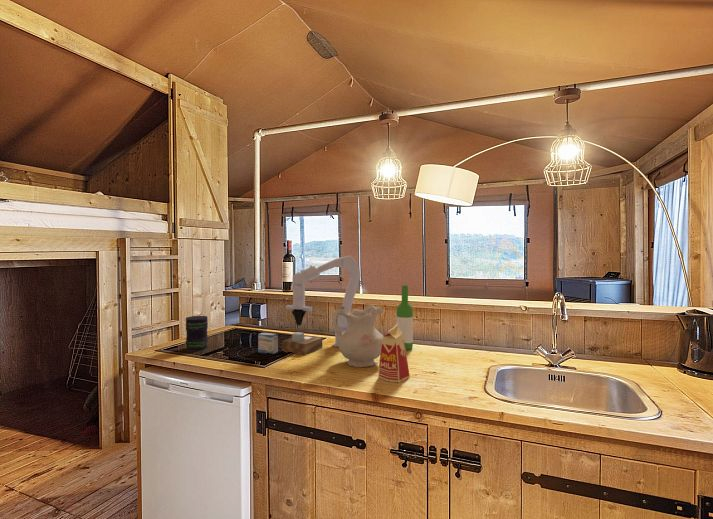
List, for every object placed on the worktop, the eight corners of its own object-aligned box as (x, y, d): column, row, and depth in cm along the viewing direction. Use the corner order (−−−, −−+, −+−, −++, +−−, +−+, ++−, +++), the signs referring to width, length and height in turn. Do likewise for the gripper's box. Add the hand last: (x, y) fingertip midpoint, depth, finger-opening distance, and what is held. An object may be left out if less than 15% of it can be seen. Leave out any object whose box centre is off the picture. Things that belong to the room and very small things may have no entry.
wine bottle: (395, 346, 197) (396, 284, 196) (411, 346, 197) (412, 285, 196) (396, 350, 189) (397, 286, 188) (413, 350, 189) (413, 286, 188)
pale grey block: (304, 343, 188) (304, 332, 188) (298, 345, 184) (298, 334, 184) (297, 342, 190) (297, 332, 190) (291, 344, 186) (291, 333, 186)
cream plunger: (312, 347, 194) (312, 337, 194) (308, 349, 191) (308, 339, 191) (306, 346, 196) (305, 336, 196) (301, 348, 193) (301, 338, 193)
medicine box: (258, 352, 185) (257, 334, 185) (263, 350, 189) (262, 332, 189) (273, 354, 183) (273, 335, 182) (278, 351, 187) (278, 333, 187)
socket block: (322, 348, 194) (322, 337, 193) (305, 355, 181) (305, 344, 181) (300, 344, 200) (300, 334, 199) (282, 351, 187) (282, 340, 187)
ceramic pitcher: (347, 376, 155) (351, 313, 152) (323, 360, 171) (325, 302, 169) (392, 367, 167) (395, 308, 164) (365, 353, 183) (368, 299, 181)
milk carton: (390, 372, 157) (390, 321, 156) (410, 377, 151) (411, 324, 150) (376, 378, 150) (376, 325, 149) (397, 384, 144) (397, 328, 143)
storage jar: (185, 347, 195) (185, 316, 194) (207, 345, 199) (206, 315, 198) (186, 352, 186) (185, 320, 185) (209, 350, 190) (208, 318, 189)
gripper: (281, 297, 196) (282, 325, 196) (306, 299, 189) (306, 328, 189) (290, 295, 202) (291, 322, 202) (314, 297, 195) (315, 325, 196)
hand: (299, 325), depth 196 cm, fingers closed
